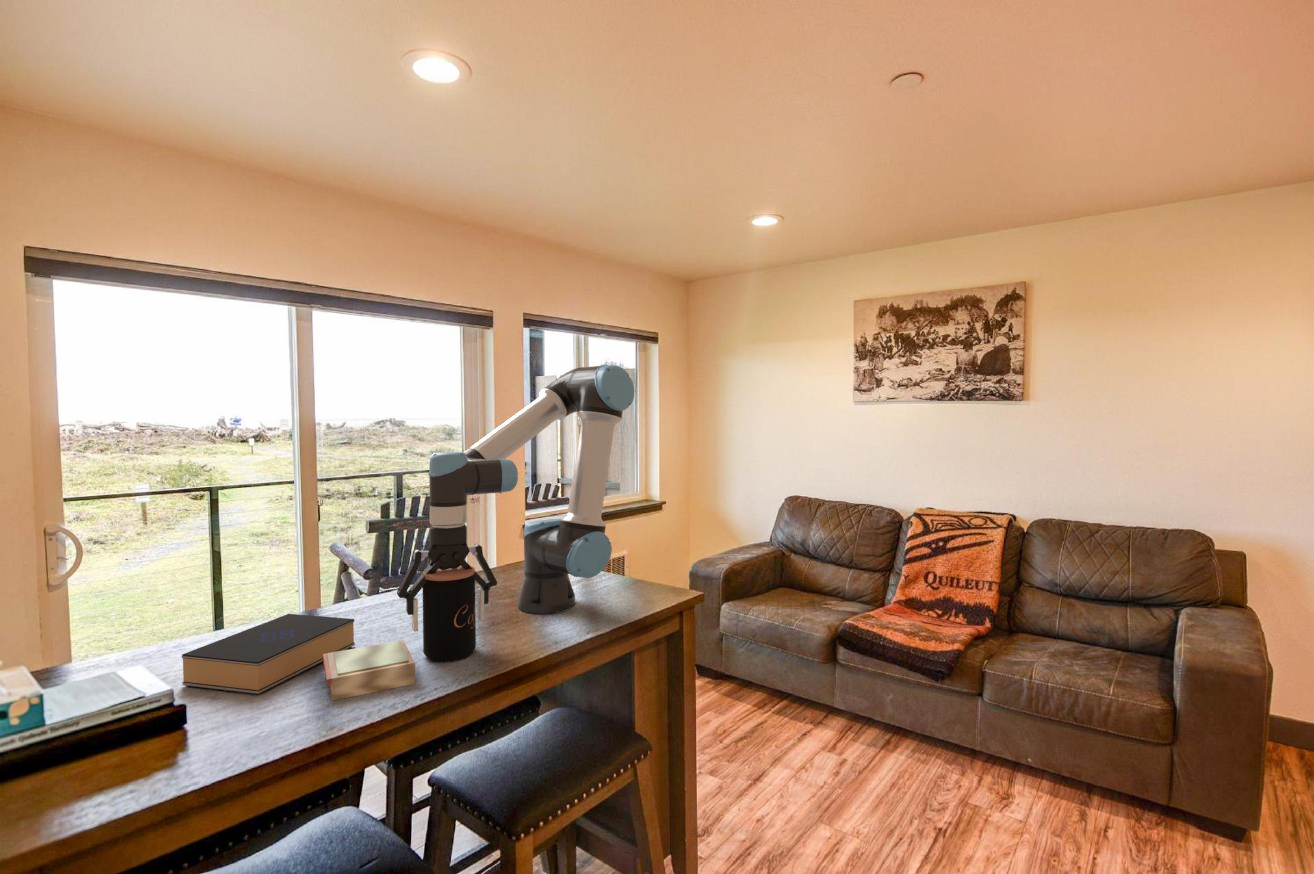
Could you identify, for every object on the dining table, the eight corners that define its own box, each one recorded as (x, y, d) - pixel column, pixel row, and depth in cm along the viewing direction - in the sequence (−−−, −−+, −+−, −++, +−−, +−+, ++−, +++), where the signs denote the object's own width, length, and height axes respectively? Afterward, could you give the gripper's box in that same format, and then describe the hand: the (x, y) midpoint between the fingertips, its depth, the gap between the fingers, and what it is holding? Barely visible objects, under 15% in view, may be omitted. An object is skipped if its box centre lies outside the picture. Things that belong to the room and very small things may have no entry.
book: (182, 689, 117) (181, 654, 117) (289, 642, 141) (288, 613, 141) (258, 698, 113) (257, 662, 113) (355, 648, 137) (354, 618, 137)
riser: (403, 659, 130) (403, 638, 130) (415, 683, 118) (415, 661, 118) (323, 674, 123) (322, 652, 122) (327, 701, 110) (326, 677, 110)
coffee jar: (460, 665, 127) (459, 577, 126) (413, 661, 129) (411, 575, 128) (484, 646, 137) (484, 565, 137) (440, 643, 139) (439, 563, 139)
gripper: (501, 518, 142) (501, 610, 142) (382, 527, 129) (382, 628, 129) (511, 522, 135) (511, 619, 136) (387, 532, 123) (387, 639, 123)
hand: (448, 624), depth 133 cm, fingers open, 13 cm apart
